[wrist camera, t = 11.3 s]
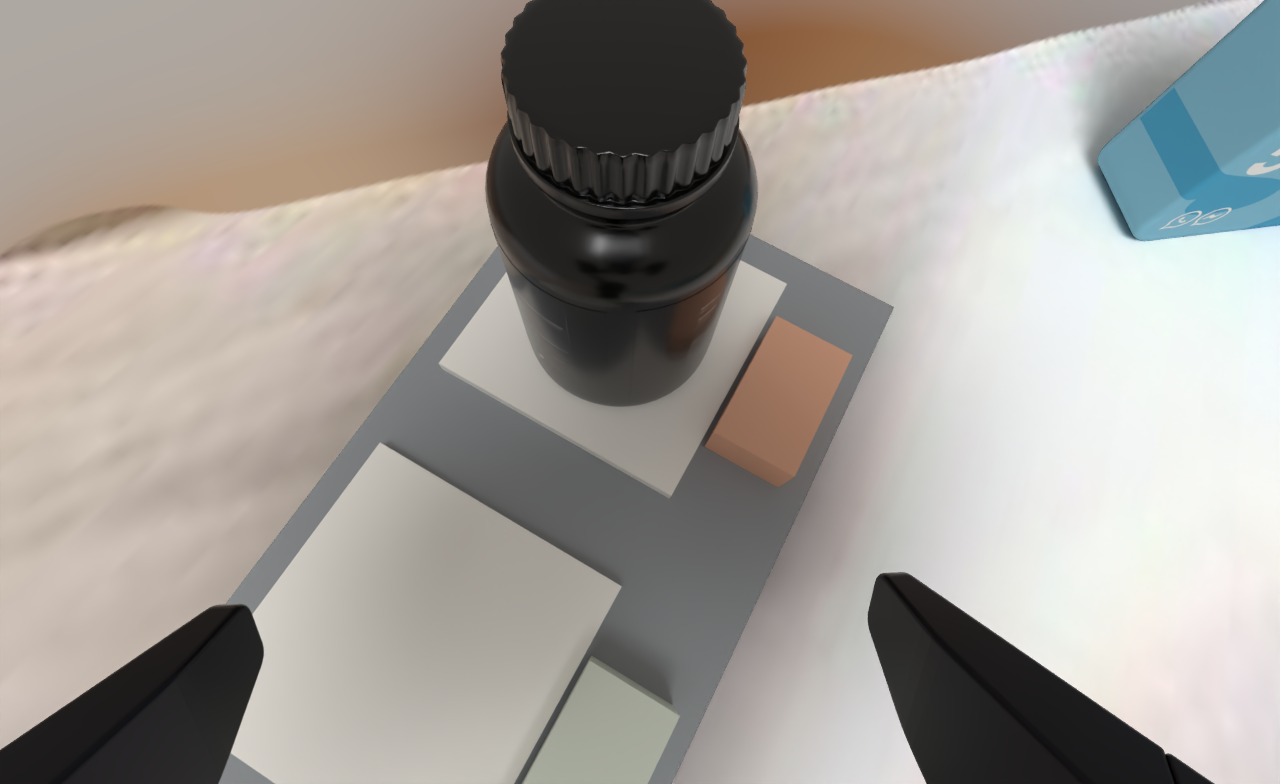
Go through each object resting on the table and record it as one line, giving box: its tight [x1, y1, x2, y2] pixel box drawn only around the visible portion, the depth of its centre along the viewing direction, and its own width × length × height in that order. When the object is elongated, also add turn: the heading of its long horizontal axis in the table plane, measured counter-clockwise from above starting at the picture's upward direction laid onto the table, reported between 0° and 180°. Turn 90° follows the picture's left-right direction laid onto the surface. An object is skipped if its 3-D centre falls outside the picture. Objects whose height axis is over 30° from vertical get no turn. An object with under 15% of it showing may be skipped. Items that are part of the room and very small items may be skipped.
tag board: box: [219, 235, 894, 784], centre depth 21 cm, size 15×26×4 cm, turn 151°
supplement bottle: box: [485, 0, 758, 407], centre depth 17 cm, size 7×7×12 cm
